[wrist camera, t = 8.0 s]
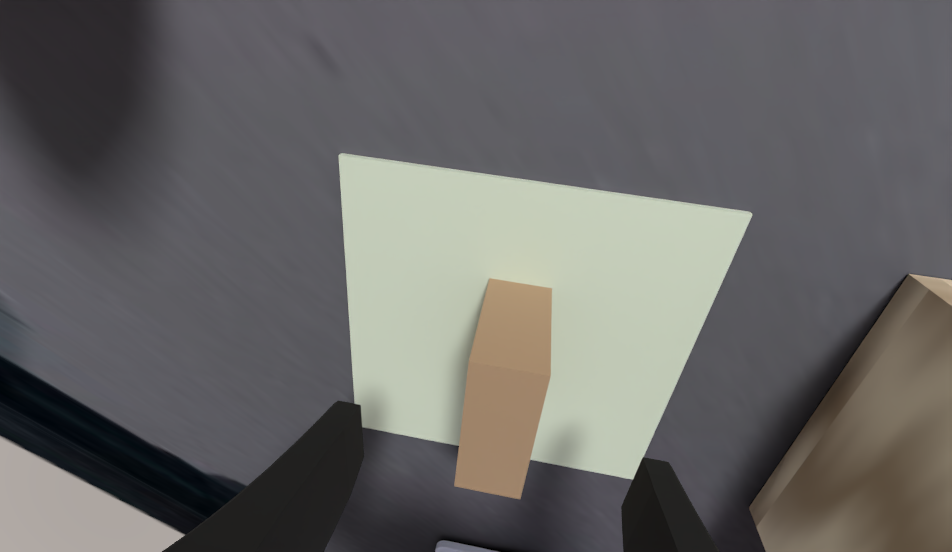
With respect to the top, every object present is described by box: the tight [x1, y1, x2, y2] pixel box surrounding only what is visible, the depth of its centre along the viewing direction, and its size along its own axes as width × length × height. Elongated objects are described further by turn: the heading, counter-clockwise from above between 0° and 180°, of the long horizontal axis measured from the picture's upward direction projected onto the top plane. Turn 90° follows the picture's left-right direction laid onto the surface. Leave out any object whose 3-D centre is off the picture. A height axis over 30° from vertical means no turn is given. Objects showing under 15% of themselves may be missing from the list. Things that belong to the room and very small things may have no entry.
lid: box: [339, 153, 753, 499], centre depth 14 cm, size 12×12×5 cm
